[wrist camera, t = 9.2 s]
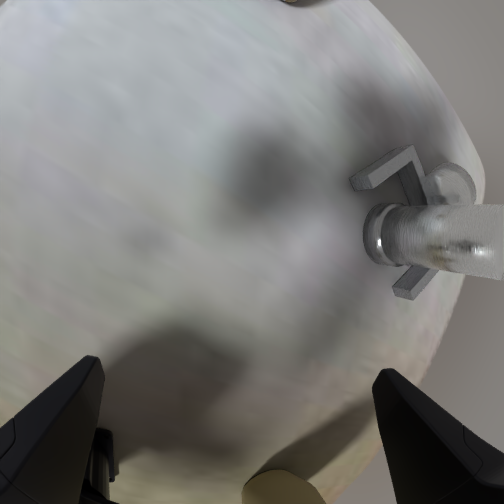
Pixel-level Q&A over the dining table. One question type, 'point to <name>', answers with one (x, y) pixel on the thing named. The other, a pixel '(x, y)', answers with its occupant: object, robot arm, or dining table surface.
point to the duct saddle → (418, 197)
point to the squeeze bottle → (280, 489)
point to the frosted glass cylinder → (438, 237)
